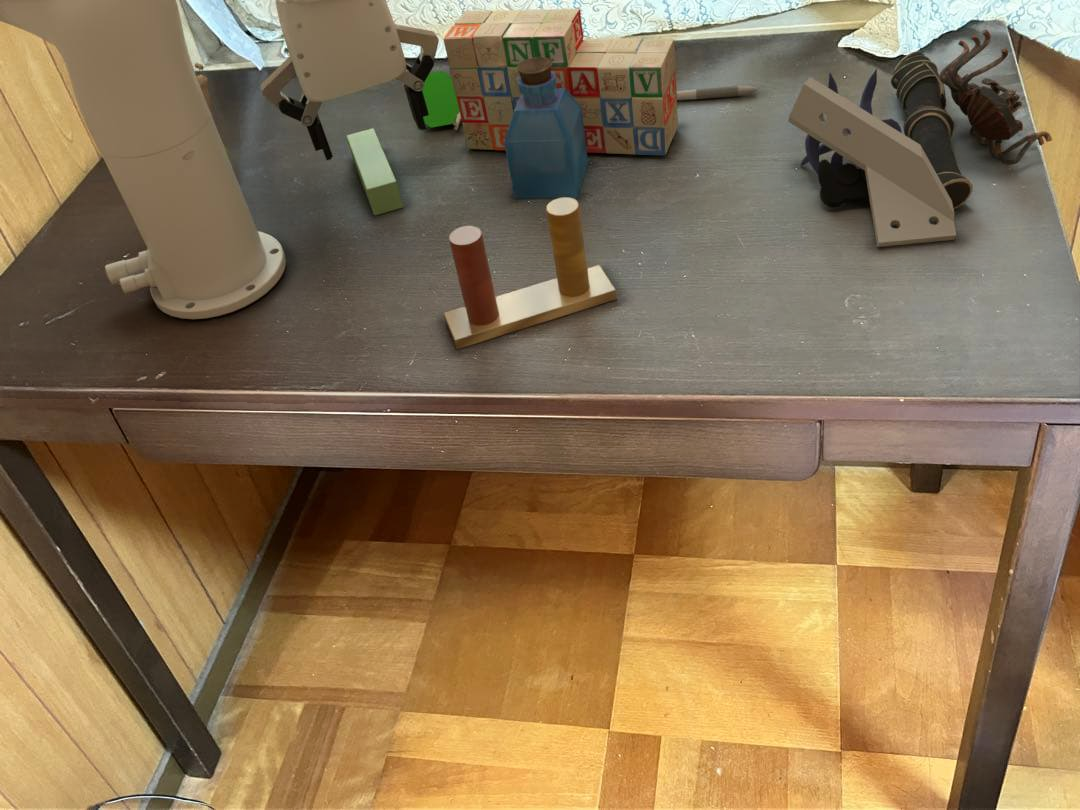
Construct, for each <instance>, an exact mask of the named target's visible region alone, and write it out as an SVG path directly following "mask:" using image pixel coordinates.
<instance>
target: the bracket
mask: <svg viewBox="0 0 1080 810" xmlns="http://www.w3.org/2000/svg"><path fill="white" fill-rule="evenodd" d="M824 115H825V116H826V117H827V118H825V116H824ZM788 122H789V123H790V124H791V125H793V126H794V127H796V128H798V129H799V130H801V131H802V132H804V133H805V134H809V135H810V136H812V137H813V138H815V139H816V140H818V141H819V142H821V143H820V144H824V145H826V146H827V147H829V148H830V149H832V150H834V151H833V152H837V153H838V154H840V155H841V156H843V159H846V160H848V161H850V162H851V164H853V165H855V166H856V167H857V168H859V169H860V168H862V169H863V170H865V174H866V181H867V187H868V193H869V199H870V200H869V204H870V211H871V218H872V224H873V229H874V236H875V242H876V248H882V247H893V246H894V247H895V246H903V245H904V246H905V245H915V244H925V243H933V242H934V243H935V242H944V241H954V240H955V239H956V237H957V230H956V226H955V209H953V204H952V200H951V199H950V197H949V195H948V193H947V192H946V190H945V188H944V186H943V184H942V183H941V181H940V179H939V177H938V175H937V174H936V172H935V170H934V168H933V167H932V165H931V163H930V161H929V159H928V158H927V156H926V154H925V152H924V150H923V149H922V147H921V145H920V144H918V143H917V142H915V141H913V140H912V139H910V138H908V137H907V136H905V134H904V133H903V132H902V133H900V132H899V131H897V130H895V129H894V128H892V127H891V126H889V125H887V124H886V123H884V122H883V121H882V119H880V118H878V117H876V116H875V115H871V114H870V113H868V112H866V111H865V110H863V109H862V108H860V106H858V105H857V104H855V103H854V102H852V101H850V100H849V99H847V98H845V97H844V96H843V95H840V94H839V93H838V94H837V93H836V92H834V91H832V90H831V89H829V88H828V86H826V85H825V84H823V83H821V82H820V81H818V80H816V79H815V78H813V77H812V76H810V77H809V78H808V79H807V80H806V81H805V82H804V83H803V85H802V87H801V89H800V91H799V94H798V96H797V98H796V100H795V102H794V105H793V106H792V109H791V112H790V113H789V116H788ZM847 128H848V129H849V130H850V131H851V135H849V134H848V133H847V131H846V129H847ZM931 222H934V223H935V224H931ZM892 226H896V227H897V228H895V227H892Z"/></svg>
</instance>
